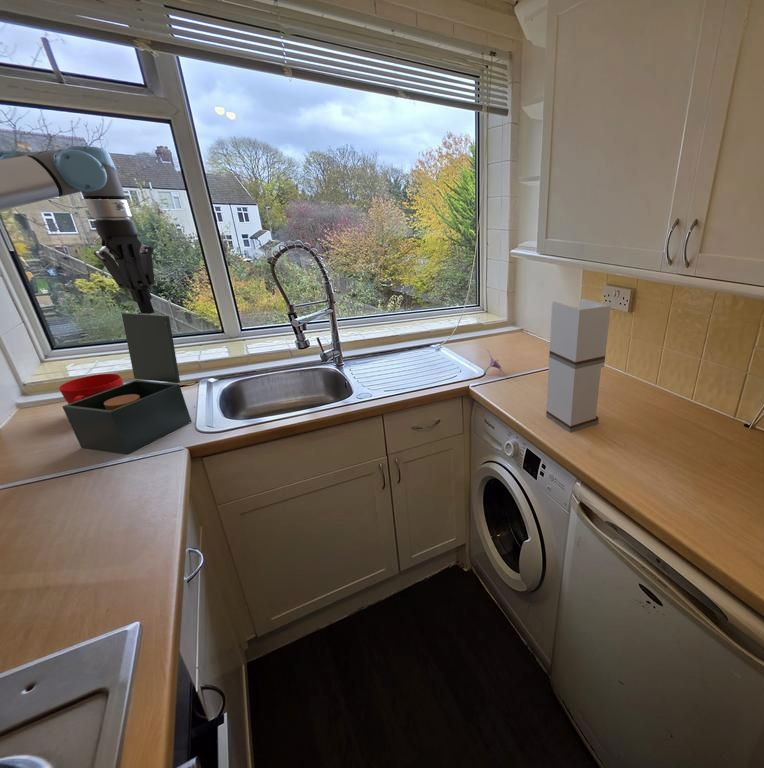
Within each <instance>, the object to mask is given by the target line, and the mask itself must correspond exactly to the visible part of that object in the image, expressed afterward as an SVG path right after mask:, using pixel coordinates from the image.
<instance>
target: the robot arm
mask: <svg viewBox="0 0 764 768" xmlns="http://www.w3.org/2000/svg"><path fill="white" fill-rule="evenodd" d="M77 193H81V195H82V197H83V199H84V202H85V205H86V207H87V211H88V213H89V216H90V218H93V219H94V220H93V222H92V223H93V225H94V228H95V231H96V234H97V235H98V236H99V237H100V239H101V243H100V244H101V247H100V248H99V250H94V251H93V252H92V253H93V255H94V256H95V257H96V258H98V259H99V260H100V261H101V262H102V264H103V266H104V267H105V268H106V270H107V272H108V273H109V275H110V276H111V277H112V279H113V280H114V282H115V283H116V285H117V286H118V287H119V288H120V289H126V290H128V291H129V293H130V295H131V298H132V301H134V302H135V303H137V306H138V308H139V312H140V314H148V315H152V314H154V313H155V309H154V307H153V304H152V301H151V300H153V297H152V294H151V291H150V288H152V285H155V283H156V282H155V271H154V264H153V263H154V262H153V252H154V247H153V246H151V245H150V246H149V245H145V244H143V243H142V241H141V239H140V238H139V237H138V236H139V231H138V229H137V225H136V223H135V221H134V220H133V219H131V218H132V217H133V215H132V212H131V209H130V206H129V204H128V203H129V202H128V201H127V197H126V195H125V191H124V190H123V186H122V183H121V181H120V177H119V174H118V169H117V167H116V165H115V164H114V161H113V159H112V156H111V154H110V153H109V152H108V150H106V149H105V148H102V147H97V146H88V145H87V146H85V145H84V146H83V145H67V146H65V147H64V148H63V149H59V150H58V149H57V150H55V149H54V150H40V151H20V150H13V149H12V150H0V212H1V211H4V210H9V209H13V208H17V207H21V206H26V205H30V204H31V205H32V204H35V203H38V202H42V201H47V200H51V199H54V198H60V197H65V196H70V195H74V194H77Z"/></svg>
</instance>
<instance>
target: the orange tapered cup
mask: <svg viewBox="0 0 764 768" xmlns="http://www.w3.org/2000/svg"><path fill="white" fill-rule="evenodd" d="M139 399H141V398H140V396H139V395H137V394H129V395H122V396H118V397H114V398H111V399H109V400H107V401H105V402H104V406H105V408H106V410H114V409H116V408H119V407H121V406H124V405H126V404H129V403H131V402H134V401H136V400H139Z"/></svg>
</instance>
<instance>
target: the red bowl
mask: <svg viewBox="0 0 764 768" xmlns="http://www.w3.org/2000/svg"><path fill="white" fill-rule="evenodd" d="M121 385H124V381H123V378H122V376H121V375H120V374H117V373H101V374H94V375H88V376H82V377H78V378H75V379H72V380H69V381H67V382H64V383H63V384H61V385H59V387H58V388H59V389H58V390H59V391H60V394H61V395H62V397H63V398H64V400H65V402H66V403H67V404H70V403H73V402H76V401H79V400H81V399H84V398H87V397H90V396H93V395H95V394H98V393H101V392H104V391H107V390H109V389H112V388H115V387H118V386H121Z"/></svg>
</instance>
